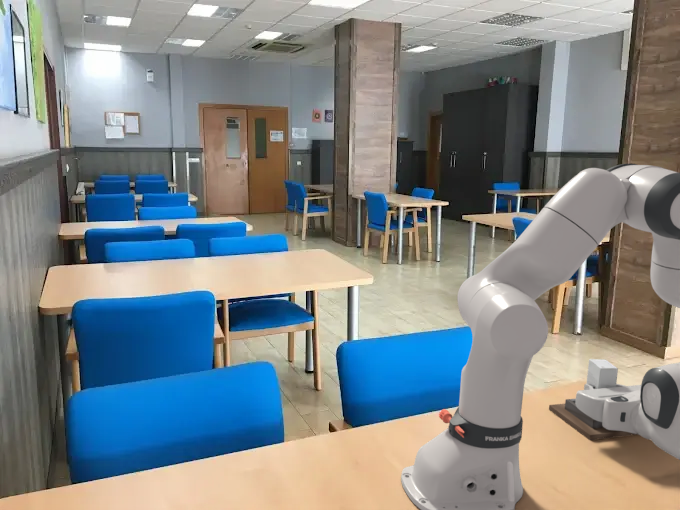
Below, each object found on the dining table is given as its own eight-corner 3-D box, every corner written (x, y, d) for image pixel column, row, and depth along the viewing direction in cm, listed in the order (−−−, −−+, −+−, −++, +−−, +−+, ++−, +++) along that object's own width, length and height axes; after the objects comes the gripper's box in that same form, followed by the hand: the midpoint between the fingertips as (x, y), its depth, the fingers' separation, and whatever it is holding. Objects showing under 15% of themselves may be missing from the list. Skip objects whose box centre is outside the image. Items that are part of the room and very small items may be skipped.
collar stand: (589, 440, 125) (591, 424, 124) (548, 409, 139) (550, 395, 138) (646, 433, 128) (648, 418, 128) (601, 404, 143) (602, 391, 142)
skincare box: (613, 418, 130) (619, 368, 128) (594, 417, 130) (600, 368, 128) (600, 406, 136) (606, 358, 134) (583, 406, 136) (588, 358, 134)
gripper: (684, 394, 122) (636, 369, 135) (603, 402, 117) (561, 376, 130) (680, 421, 123) (633, 394, 136) (600, 430, 118) (559, 401, 131)
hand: (597, 385), depth 133 cm, fingers closed on skincare box, 5 cm apart
